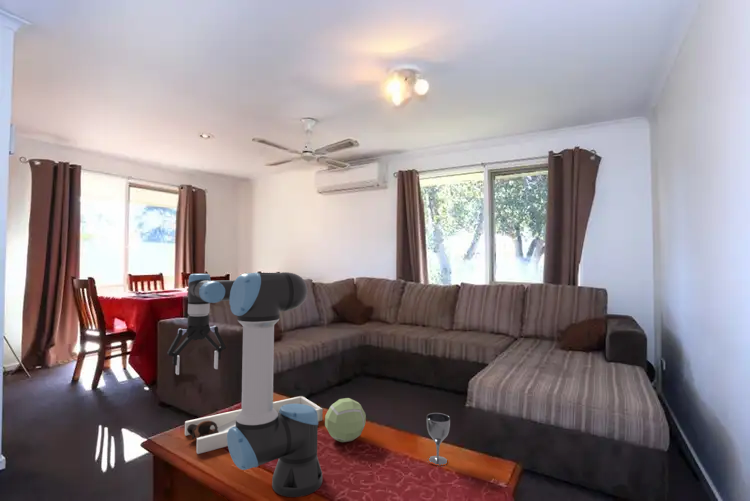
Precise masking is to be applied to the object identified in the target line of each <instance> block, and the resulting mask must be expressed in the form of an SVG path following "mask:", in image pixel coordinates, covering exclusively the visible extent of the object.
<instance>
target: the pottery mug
mask: <svg viewBox="0 0 750 501" xmlns="http://www.w3.org/2000/svg"><path fill="white" fill-rule="evenodd" d="M212 425H214V427H215V429H210V427H211V426H212ZM217 429H218V427H217V424H216V423H215V422H213V421H203V422H201V423H199V424H198V425H195V424H190V425H189V426H188V428H187V431H188V433H189V434H190V435H189V436H192V439H197V438H199V437H203V436H207V435H211V434H215V433H219V432H218V430H217ZM196 445H197V442H196Z"/></svg>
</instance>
